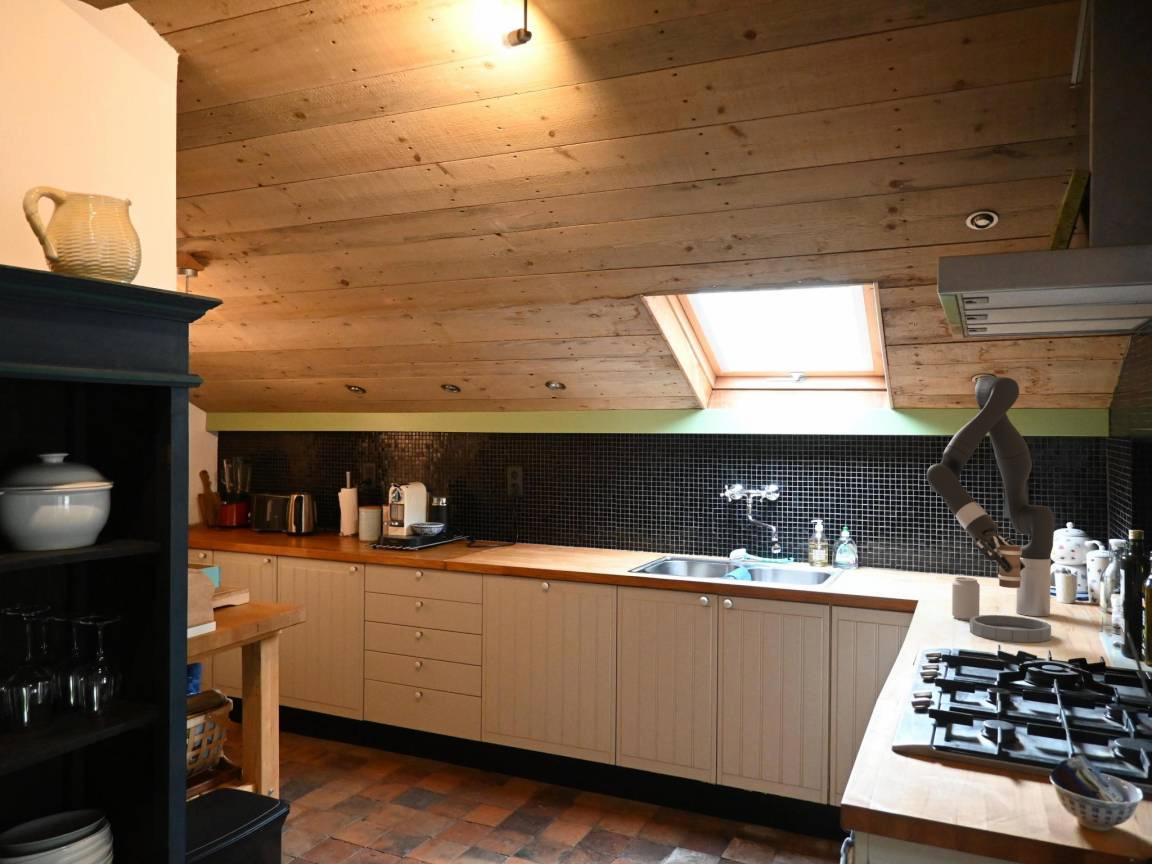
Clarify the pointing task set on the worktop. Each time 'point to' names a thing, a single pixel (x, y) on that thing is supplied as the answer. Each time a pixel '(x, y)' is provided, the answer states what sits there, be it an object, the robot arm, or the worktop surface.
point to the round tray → (1010, 628)
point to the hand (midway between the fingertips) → (1016, 569)
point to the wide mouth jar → (965, 598)
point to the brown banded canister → (1014, 558)
